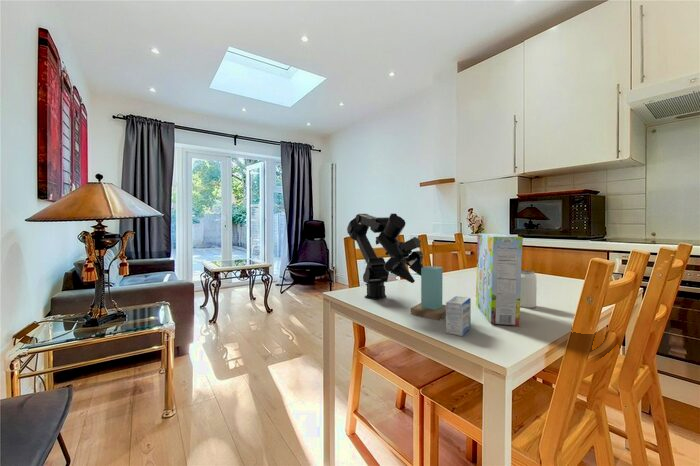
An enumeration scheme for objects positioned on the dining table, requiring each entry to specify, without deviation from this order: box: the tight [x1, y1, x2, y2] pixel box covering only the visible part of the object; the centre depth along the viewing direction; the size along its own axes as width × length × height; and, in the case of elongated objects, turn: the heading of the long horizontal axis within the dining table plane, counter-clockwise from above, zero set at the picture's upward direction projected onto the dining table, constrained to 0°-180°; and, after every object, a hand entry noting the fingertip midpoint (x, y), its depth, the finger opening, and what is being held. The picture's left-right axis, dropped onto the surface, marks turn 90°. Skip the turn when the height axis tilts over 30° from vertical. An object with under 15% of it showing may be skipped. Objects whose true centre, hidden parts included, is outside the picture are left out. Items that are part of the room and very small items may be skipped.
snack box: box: [475, 233, 524, 327], centre depth 95 cm, size 22×9×26 cm, turn 168°
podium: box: [410, 302, 446, 321], centre depth 98 cm, size 10×10×2 cm
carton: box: [420, 265, 443, 310], centre depth 97 cm, size 5×5×13 cm
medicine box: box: [445, 295, 472, 337], centre depth 82 cm, size 8×4×9 cm, turn 143°
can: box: [520, 269, 538, 309], centre depth 104 cm, size 6×6×12 cm
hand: (420, 279), depth 100 cm, fingers open, 9 cm apart
